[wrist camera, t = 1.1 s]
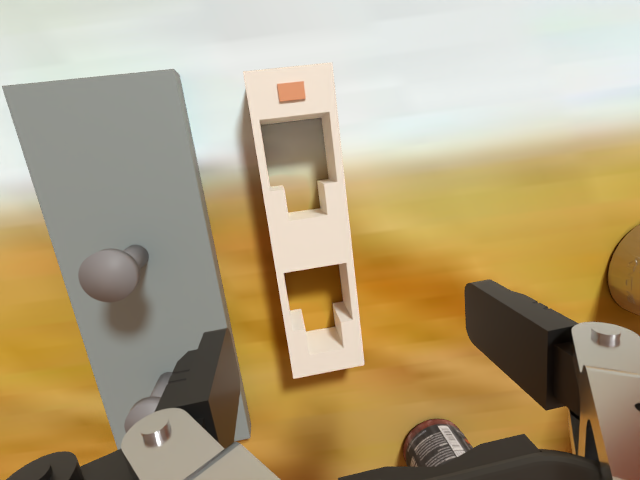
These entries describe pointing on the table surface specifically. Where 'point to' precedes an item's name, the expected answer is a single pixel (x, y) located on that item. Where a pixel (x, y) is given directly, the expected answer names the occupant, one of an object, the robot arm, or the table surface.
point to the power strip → (309, 215)
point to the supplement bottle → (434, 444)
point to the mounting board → (126, 228)
